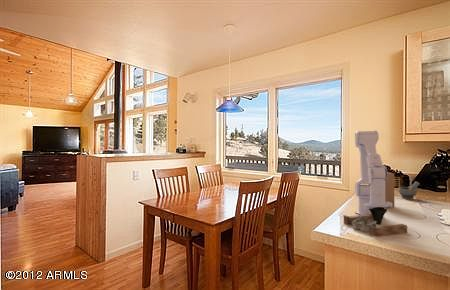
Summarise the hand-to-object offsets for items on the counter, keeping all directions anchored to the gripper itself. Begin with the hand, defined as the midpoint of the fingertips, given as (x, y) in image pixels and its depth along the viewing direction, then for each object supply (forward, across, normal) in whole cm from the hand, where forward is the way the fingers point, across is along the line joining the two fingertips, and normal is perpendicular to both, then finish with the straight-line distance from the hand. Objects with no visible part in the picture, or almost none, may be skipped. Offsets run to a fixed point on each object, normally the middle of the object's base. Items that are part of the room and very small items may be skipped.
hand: (377, 223), depth 102 cm
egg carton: (+2, -6, +1) cm, 7 cm away
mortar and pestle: (+2, +66, +36) cm, 75 cm away
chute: (+1, -2, 0) cm, 3 cm away
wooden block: (+2, +33, +28) cm, 44 cm away
